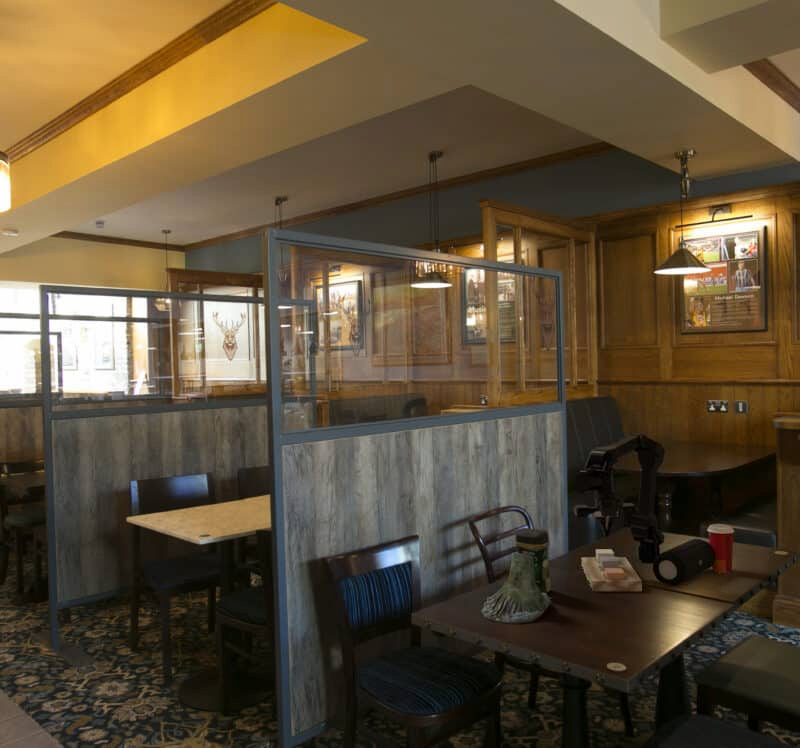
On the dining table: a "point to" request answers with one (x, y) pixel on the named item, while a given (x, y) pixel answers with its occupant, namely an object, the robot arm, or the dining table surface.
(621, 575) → the brown cube
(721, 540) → the paper cup
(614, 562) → the grey cube
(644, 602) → the dining table surface
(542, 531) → the coffee jar
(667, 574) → the portable speaker
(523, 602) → the tree stump
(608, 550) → the beige cube
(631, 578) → the beige flat board
